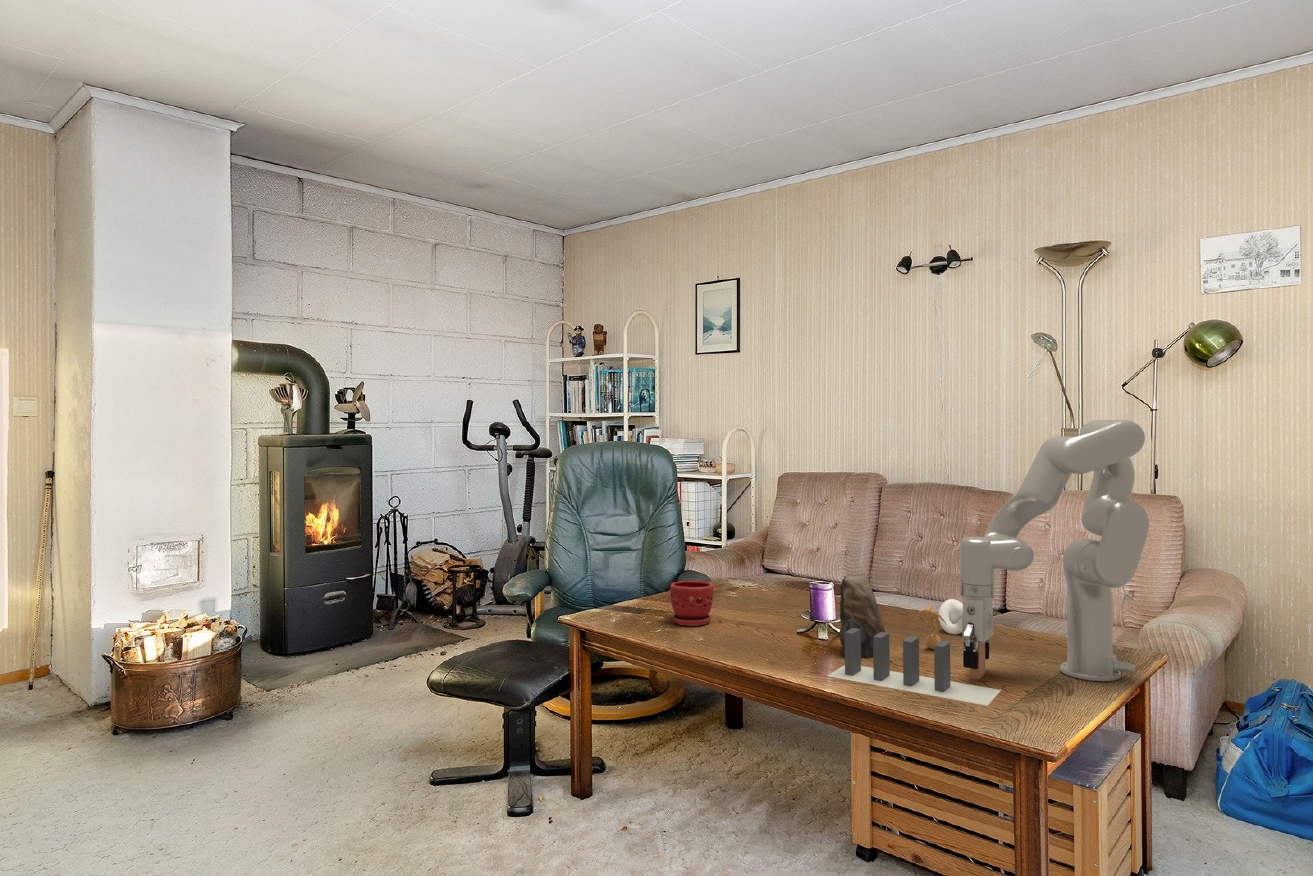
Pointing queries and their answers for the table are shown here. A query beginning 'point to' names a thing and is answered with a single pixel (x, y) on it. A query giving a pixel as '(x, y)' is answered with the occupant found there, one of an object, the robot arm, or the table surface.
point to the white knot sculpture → (951, 616)
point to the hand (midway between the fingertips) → (976, 663)
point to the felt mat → (923, 686)
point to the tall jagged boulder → (859, 612)
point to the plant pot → (691, 602)
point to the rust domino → (979, 661)
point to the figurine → (931, 638)
